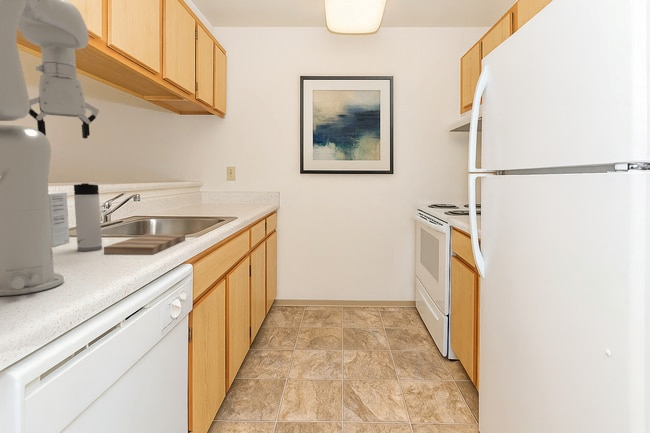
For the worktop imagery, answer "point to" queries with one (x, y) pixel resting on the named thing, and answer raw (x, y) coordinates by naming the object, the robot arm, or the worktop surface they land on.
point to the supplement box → (58, 218)
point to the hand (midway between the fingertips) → (64, 137)
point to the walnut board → (145, 244)
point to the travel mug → (87, 217)
